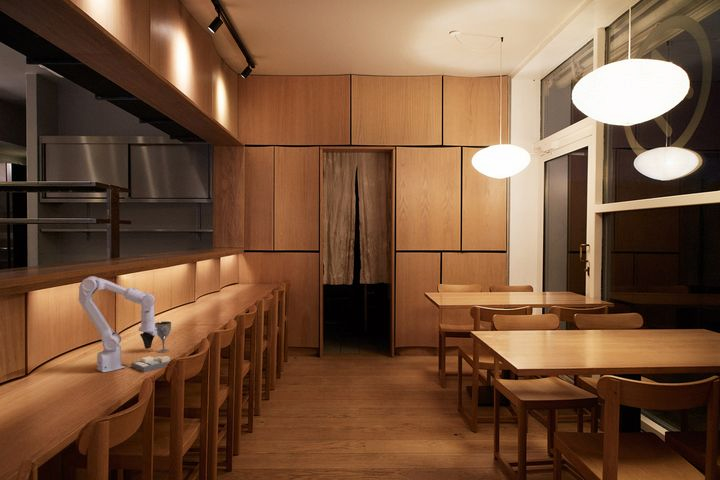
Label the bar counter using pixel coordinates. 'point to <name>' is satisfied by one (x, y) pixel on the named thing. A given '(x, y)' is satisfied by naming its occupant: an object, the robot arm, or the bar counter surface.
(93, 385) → the bar counter surface
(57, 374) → the bar counter surface
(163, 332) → the wine glass
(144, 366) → the keyguard
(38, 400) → the bar counter surface
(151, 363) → the key slate
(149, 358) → the key cream
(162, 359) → the key sand
